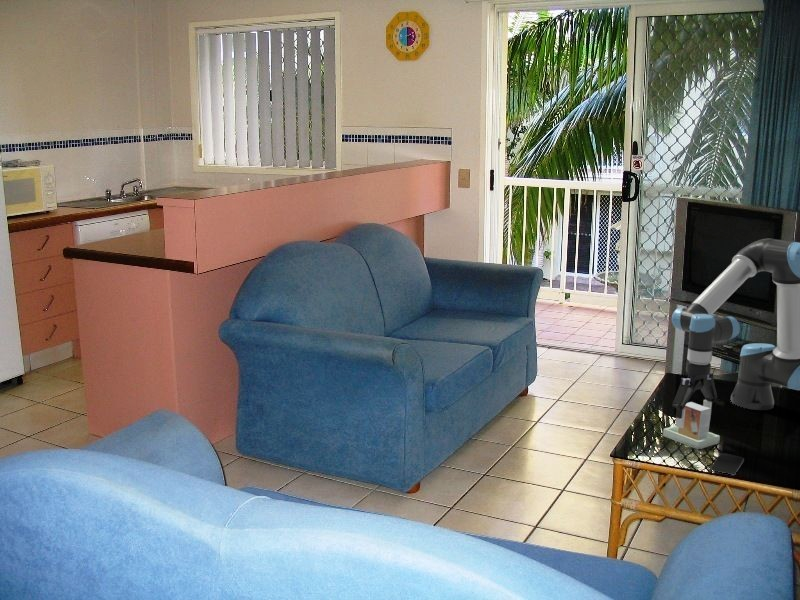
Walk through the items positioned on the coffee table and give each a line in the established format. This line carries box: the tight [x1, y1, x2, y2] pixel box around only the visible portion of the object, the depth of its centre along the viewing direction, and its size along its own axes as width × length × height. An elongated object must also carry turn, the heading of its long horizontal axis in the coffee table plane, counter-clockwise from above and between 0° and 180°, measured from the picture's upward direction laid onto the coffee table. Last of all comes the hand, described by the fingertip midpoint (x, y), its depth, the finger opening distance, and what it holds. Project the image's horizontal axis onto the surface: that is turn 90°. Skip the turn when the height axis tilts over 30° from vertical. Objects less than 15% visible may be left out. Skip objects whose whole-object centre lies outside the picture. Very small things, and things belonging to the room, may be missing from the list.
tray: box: [662, 425, 721, 450], centre depth 288 cm, size 11×14×2 cm
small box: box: [678, 401, 712, 441], centre depth 287 cm, size 8×6×10 cm
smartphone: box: [710, 452, 745, 476], centre depth 268 cm, size 7×1×15 cm
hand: (692, 423), depth 287 cm, fingers open, 13 cm apart
